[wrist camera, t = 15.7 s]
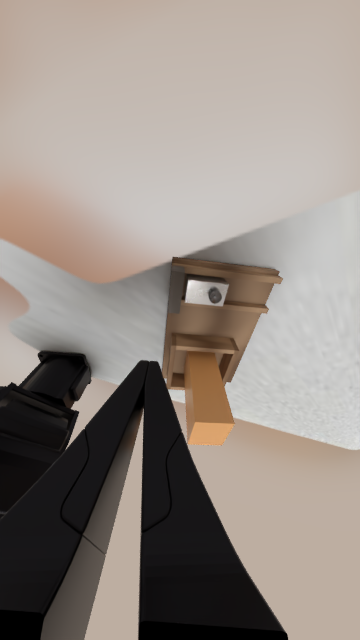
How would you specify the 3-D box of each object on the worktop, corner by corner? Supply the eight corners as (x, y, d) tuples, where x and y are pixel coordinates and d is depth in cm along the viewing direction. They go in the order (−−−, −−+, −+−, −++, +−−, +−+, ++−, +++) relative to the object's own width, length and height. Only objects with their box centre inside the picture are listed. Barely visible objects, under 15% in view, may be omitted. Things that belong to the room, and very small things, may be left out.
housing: (162, 372, 27) (160, 395, 24) (172, 256, 17) (171, 266, 14) (229, 377, 28) (236, 399, 25) (274, 269, 18) (297, 281, 15)
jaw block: (183, 367, 25) (187, 444, 17) (188, 346, 23) (194, 422, 14) (206, 369, 25) (222, 445, 17) (213, 348, 23) (234, 423, 15)
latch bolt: (184, 294, 18) (185, 306, 16) (187, 273, 17) (188, 282, 15) (218, 298, 19) (224, 310, 16) (223, 278, 17) (231, 287, 15)
